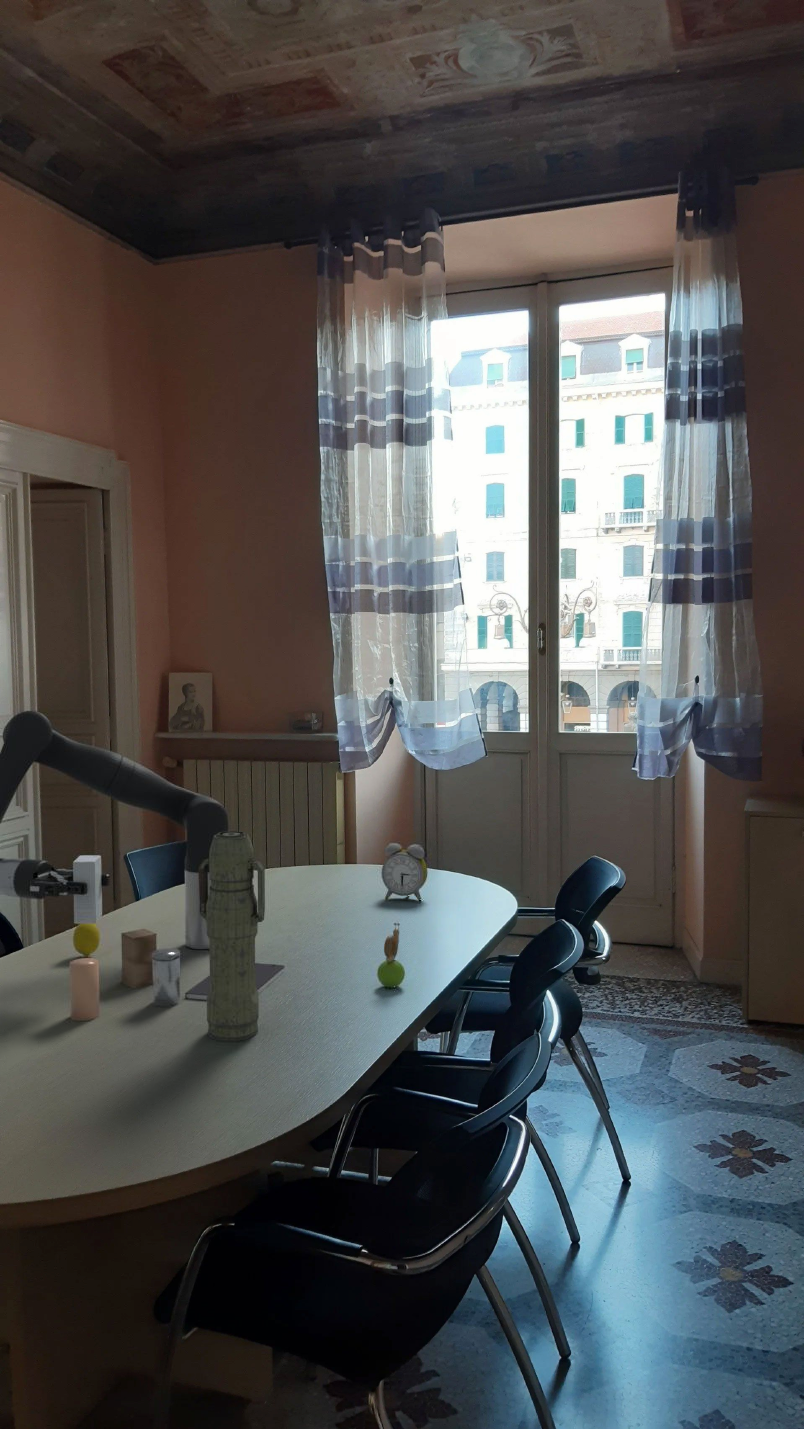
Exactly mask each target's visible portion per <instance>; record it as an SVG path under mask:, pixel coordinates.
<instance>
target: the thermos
mask: <svg viewBox="0 0 804 1429" xmlns="http://www.w3.org/2000/svg"><path fill="white" fill-rule="evenodd" d="M254 857H255V856H254V846H253V844H252V841H251V838H250V835H249V834H248V833H245V832H244V831H239V830H229V831H226V832H220V833H218V834H217V835H215V836H214V837H213V840H212V844H211V847H210V851H209V859H207V860H204V861H203V862H202V863H201V865H200V866H199V868H198V873H199V896H200V915H201V916H202V917H203V918H204V919H205V921H206V930H207V936H208V938H209V949H208V950H209V951H208V952H209V975H210V990H209V993H208V996H207V1000H206V1021H207V1023H208V1028H207V1036H208V1037H209V1038H211V1039H212V1040H215V1041H218V1042H219V1041H220V1042H226V1043H227V1042H240V1041H245V1040H248V1039H252V1038H254V1037H255V1036H257V1034H258V1033H259V1027H258V1021H259V1016H260V1015H259V1010H260V1009H259V1007H260V1006H259V1005H260V1004H259V993H258V991H257V988H256V985H255V963H256V937H257V934H258V930H259V929H258V926H259V924H258V923H262V922H263V921H264V920H265V913H266V912H265V910H266V908H265V907H266V890H265V888H266V885H265V884H266V883H265V882H266V879H265V875H266V874H265V872H266V871H265V867H264V866H263V864H262V862H261V861H259V860H257V859H255V858H254ZM208 866H209V872H210V880H211V886H210V894H209V897H208ZM255 869H256V871H257V897H256V893H255V886H254V884H253V883H254V882H253V881H254V880H253V879H254V878H255V873H254V870H255Z"/></svg>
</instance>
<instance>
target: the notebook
mask: <svg viewBox="0 0 804 1429" xmlns="http://www.w3.org/2000/svg"><path fill="white" fill-rule="evenodd" d="M284 972H285V965H283V964H273V963H271V964H270V963H259V962H255V985H256V988H257V991H258V994H260V993H261V992H262V991H263V990H264V989H265V988H267V987H268V986H269V985H270V984H271V983H273V982H274V981H275V980H276V979H277V978H278V977H279V976H281V975H282V974H283V973H284ZM209 990H210V974H209V975H207V977H205V978H204V979H203V980H201V981H200V982H198V983H197V984H196V985H194V986H193V987H192V988H190V989H189V990H188V991H186V992H185V993H184V994H185V995H184V998H185V999H192V1000H193V999H194V1000H195V999H196V1000H204V1001H207V996H208V993H209Z"/></svg>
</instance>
